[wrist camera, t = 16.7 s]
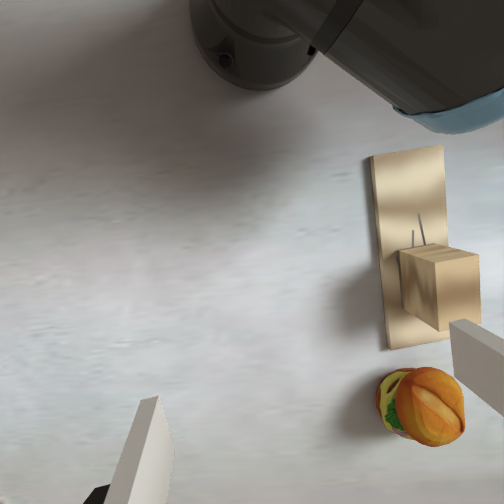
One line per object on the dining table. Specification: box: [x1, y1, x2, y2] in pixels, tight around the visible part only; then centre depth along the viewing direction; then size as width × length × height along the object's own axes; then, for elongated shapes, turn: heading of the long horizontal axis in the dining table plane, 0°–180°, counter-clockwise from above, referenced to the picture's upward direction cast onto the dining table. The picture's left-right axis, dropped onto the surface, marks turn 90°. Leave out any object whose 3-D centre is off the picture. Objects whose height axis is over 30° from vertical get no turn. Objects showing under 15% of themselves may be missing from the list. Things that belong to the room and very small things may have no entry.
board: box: [370, 144, 450, 350], centre depth 46 cm, size 26×9×1 cm, turn 9°
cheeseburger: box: [376, 367, 465, 447], centre depth 46 cm, size 10×11×10 cm
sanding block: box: [397, 243, 481, 332], centre depth 42 cm, size 8×5×8 cm, turn 9°
